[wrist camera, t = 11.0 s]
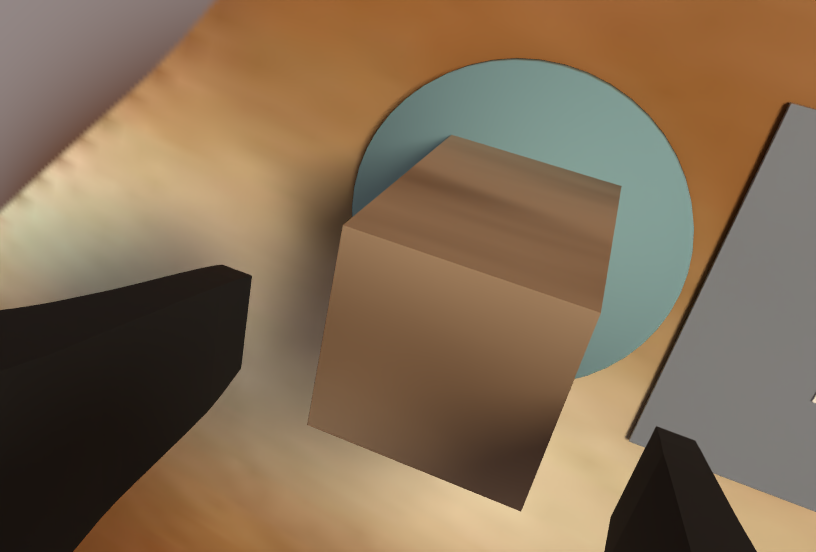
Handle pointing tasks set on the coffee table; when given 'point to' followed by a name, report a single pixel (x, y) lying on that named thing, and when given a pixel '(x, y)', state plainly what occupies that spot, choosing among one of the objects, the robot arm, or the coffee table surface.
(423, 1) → the coffee table surface
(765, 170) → the grey square plate
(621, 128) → the coaster
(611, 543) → the robot arm
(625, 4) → the coffee table surface
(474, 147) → the walnut block
